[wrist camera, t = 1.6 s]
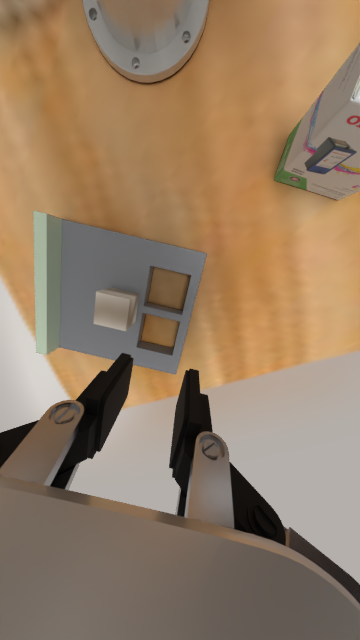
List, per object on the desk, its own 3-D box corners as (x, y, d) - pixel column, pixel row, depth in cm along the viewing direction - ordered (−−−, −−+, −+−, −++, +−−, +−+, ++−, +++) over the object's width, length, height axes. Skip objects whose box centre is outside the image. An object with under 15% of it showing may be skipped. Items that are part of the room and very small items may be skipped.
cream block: (111, 287, 24) (96, 291, 21) (139, 294, 24) (130, 299, 21) (108, 315, 26) (93, 323, 22) (135, 321, 26) (125, 331, 22)
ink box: (360, 154, 21) (562, 21, 9) (335, 204, 22) (484, 141, 11) (289, 131, 20) (409, -33, 9) (270, 183, 22) (352, 96, 11)
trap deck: (59, 220, 25) (28, 209, 20) (205, 254, 25) (208, 252, 20) (57, 337, 30) (32, 351, 25) (177, 365, 30) (174, 384, 25)
